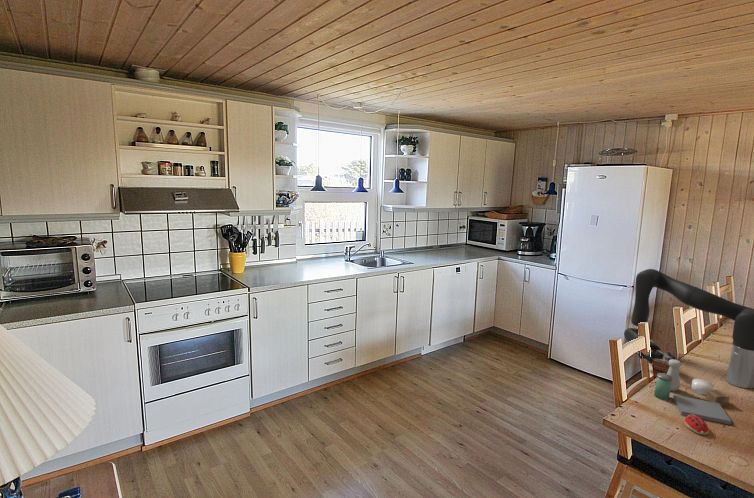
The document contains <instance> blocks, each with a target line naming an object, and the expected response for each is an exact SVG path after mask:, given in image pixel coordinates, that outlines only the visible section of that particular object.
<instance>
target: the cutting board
mask: <svg viewBox="0 0 754 498" xmlns="http://www.w3.org/2000/svg"><path fill="white" fill-rule="evenodd" d="M672 399H673V401H674V404H675V405H676V406H677V407H676V408H677V409H678V411H679V413H680V415H681V416H684V417H687V416H688V415H696V416H698V417H699V418H701V419H702V420H703V421H710V422H714V423H720V424H725V425H729V426H730V425H731V424H732V420H731V419H730V417H729V416H728V414H727V413H726V411H725V410H724V408H723V406H721V405H720V404H719V403H714V402H709V401H708V400H702V399H698V398H692V397H688V396H687V397H686V396H682V395H681V396H680V395H675V394H673V396H672Z"/></svg>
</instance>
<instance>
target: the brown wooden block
mask: <svg viewBox="0 0 754 498" xmlns="http://www.w3.org/2000/svg"><path fill="white" fill-rule="evenodd" d="M705 400H706V401H709V402H714V403H719V404H720V405H721V407H728V406H729V402H730V396H729V395H727V394H726V393H725V392H723V391H721V390H715V389H713V390H707V394H706V396H705Z"/></svg>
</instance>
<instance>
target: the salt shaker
mask: <svg viewBox="0 0 754 498" xmlns="http://www.w3.org/2000/svg"><path fill="white" fill-rule="evenodd" d="M668 365H669V367H668V369H667V372H666V374H668V375H670V376H672V383H671V389H670V392H674V393H675V392H677V391H678V390H679V389H680V388H681V380H680V379H681V378H680V368H681V367H682V363H681V361H680V360H678V359H675V360H674V359H671V360H669V363H668Z"/></svg>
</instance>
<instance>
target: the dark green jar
mask: <svg viewBox="0 0 754 498" xmlns="http://www.w3.org/2000/svg"><path fill="white" fill-rule="evenodd" d="M671 383H672V376H670V375H668V374H667V373H664V372H658V373H657V374H656V381H655V389H654V394H653V395H654V397H655V398H657V399H660V400H661V401H668V400H669V399H670V396H671V395H670V394H671V391H670V389H671Z"/></svg>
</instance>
